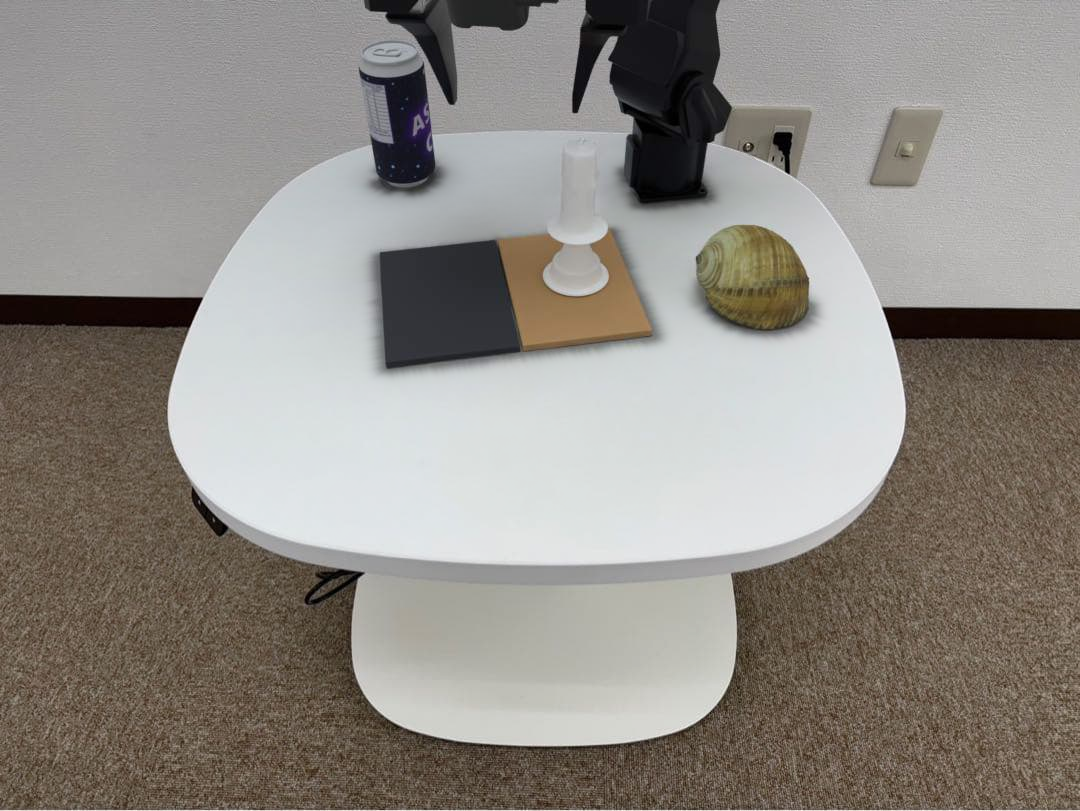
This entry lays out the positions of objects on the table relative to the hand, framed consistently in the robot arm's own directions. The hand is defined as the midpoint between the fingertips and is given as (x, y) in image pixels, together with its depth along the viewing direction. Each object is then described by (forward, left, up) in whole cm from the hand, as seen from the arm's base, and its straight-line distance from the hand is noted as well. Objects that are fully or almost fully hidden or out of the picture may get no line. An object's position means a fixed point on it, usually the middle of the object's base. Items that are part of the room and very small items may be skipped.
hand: (513, 106), depth 59 cm
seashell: (-17, +9, -13) cm, 24 cm away
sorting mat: (+2, +5, -13) cm, 14 cm away
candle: (-4, +5, -13) cm, 14 cm away
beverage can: (+9, -15, -13) cm, 22 cm away
